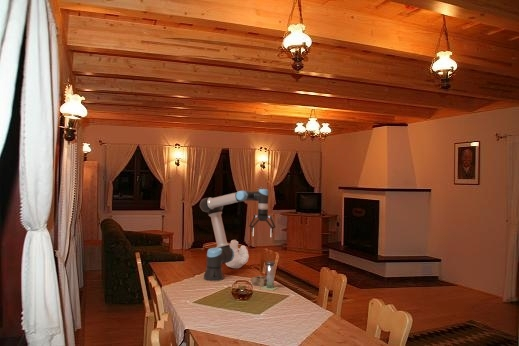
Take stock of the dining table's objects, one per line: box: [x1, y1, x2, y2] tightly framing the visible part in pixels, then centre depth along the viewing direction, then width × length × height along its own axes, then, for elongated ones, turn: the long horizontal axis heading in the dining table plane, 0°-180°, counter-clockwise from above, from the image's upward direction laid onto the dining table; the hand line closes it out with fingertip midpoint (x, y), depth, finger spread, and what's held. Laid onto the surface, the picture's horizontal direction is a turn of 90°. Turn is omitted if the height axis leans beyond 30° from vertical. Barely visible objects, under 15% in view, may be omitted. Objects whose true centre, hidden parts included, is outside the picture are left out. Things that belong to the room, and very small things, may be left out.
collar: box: [250, 275, 267, 287], centre depth 305 cm, size 11×11×5 cm
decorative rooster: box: [224, 239, 250, 270], centre depth 365 cm, size 25×16×25 cm, turn 35°
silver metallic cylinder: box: [265, 260, 276, 288], centre depth 294 cm, size 7×7×18 cm
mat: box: [260, 285, 280, 291], centre depth 293 cm, size 10×10×1 cm
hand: (261, 236), depth 313 cm, fingers open, 13 cm apart
